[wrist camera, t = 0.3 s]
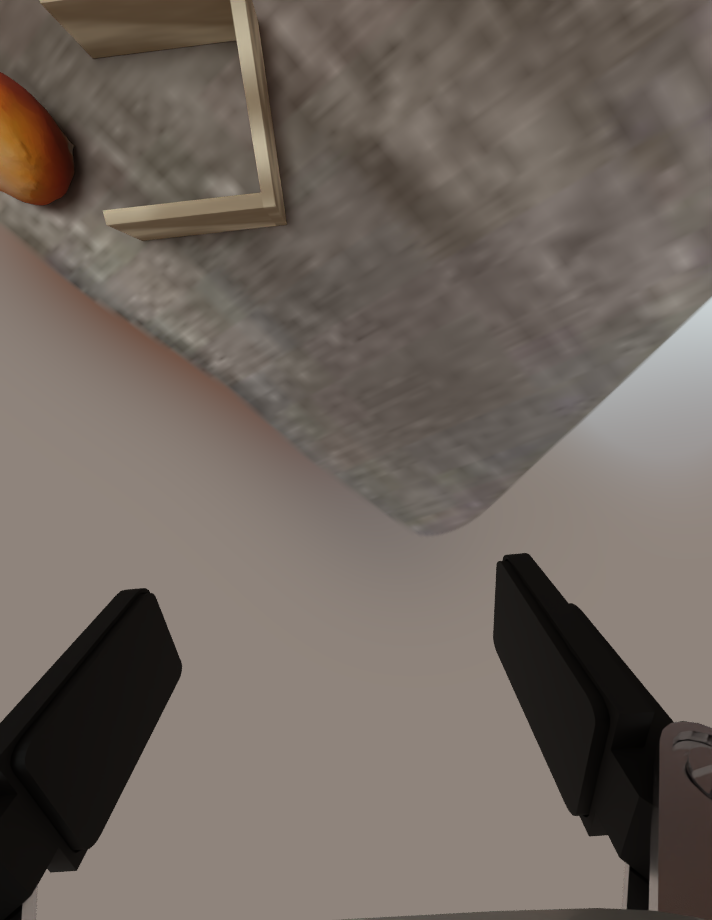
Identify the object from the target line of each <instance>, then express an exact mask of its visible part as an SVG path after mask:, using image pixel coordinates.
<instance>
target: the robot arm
mask: <svg viewBox="0 0 712 920" xmlns="http://www.w3.org/2000/svg"><path fill="white" fill-rule="evenodd" d="M495 589H496V590H495V609H494V631H493V640H494V645H495V648H496V651H497V654H498V656H499V658H500V660H501V663H502V665H503V667H504V669H505V671H506V674H507V676H508V678H509V680H510V683H511V685H512V687H513V689H514V691H515V694H516V696H517V698H518V700H519V703H520V705H521V707H522V709H523V711H524V713H525V716H526V718H527V720H528V722H529V725H530V727H531V729H532V731H533V733H534V736H535V738H536V740H537V742H538V744H539V747H540V749H541V751H542V754H543V756H544V758H545V760H546V762H547V765H548V767H549V769H550V771H551V773H552V776H553V778H554V780H555V782H556V785H557V787H558V789H559V791H560V793H561V796H562V798H563V800H564V802H565V804H566V806H567V808H568V810H569V811H570V812H571V814H572V815H574V816H580V818H581V820H582V822H583V824H584V826H585V828H586V831H587V833H588V835H589V836H602V835H608V836H609V838H610V840H611V842H612V844H613V846H614V848H615V849H616V852H617V853H618V856H619V857H620V858H621V859H622V860H623V861H624V862H625V870H624V884H623V899H622V909H603V908H589V909H554V910H520V911H490V912H472V913H456V914H455V913H453V914H436V915H417V916H400V917H399V916H398V917H380V918H362V919H345V920H712V728H710V727H708V726H705V725H702V724H699V723H694V722H687V721H680V722H673V721H672V719H671V718H670V717H669V716H668V715H667V714H666V712H665V711H664V710H663V709H662V707H661V706H660V705H659V704H658V702H657V701H656V700H655V699H654V698H653V696H652V695H651V694H650V693H649V692H648V690H647V689H646V688H645V687H644V686H643V684H642V683H641V682H640V681H639V679H638V678H637V677H636V676H635V675H634V673H633V672H632V671H631V670H630V669H629V667H628V666H627V665H626V664H625V663H624V661H623V660H622V659H621V658H620V656H619V655H618V654H617V653H616V652H615V650H614V649H613V648H612V647H611V646H610V644H609V643H608V642H607V641H606V640H605V638H604V637H603V636H602V635H601V634H600V632H599V631H598V630H597V629H596V627H595V626H594V625H593V624H592V623H591V621H590V620H589V619H588V618H587V616H586V615H585V614H584V613H583V612H582V611H581V610H580V609H579V608H578V607H577V606H576V605H574V604H572V603H570V604H569V603H568V602H567V601H566V600H565V598H563V596H562V595H561V593H560V592H559V591H558V590H557V589H556V587H555V586H554V585H553V584H552V582H551V581H550V580H549V579H548V577H547V576H546V575H545V573H544V572H543V571H542V570H541V568H540V567H539V566H538V565H537V563H536V562H535V561H534V560H533V558H532V557H531V556H530V555H529V554H527V553H522V554H511V555H505V556H504V557H503V561H499V562H497V567H496V588H495ZM181 671H182V663H181V660H180V658H179V655H178V653H177V650H176V648H175V645H174V642H173V640H172V637H171V635H170V632H169V630H168V627H167V625H166V622H165V620H164V617H163V614H162V612H161V609H160V607H159V604H158V602H157V599H156V597H155V595H154V594H152V593H150V592H149V590H147V589H146V588H140V589H130V590H124V591H120V592H119V593H118V594H117V595H116V596H115V597H114V598H113V599H112V601H111V602H110V603H109V604H108V605H107V606H106V607H105V608H104V609H103V610H102V612H101V613H100V614H99V615H98V616H97V617H96V618H95V619H94V620H93V621H92V623H91V624H90V625H89V626H88V627H87V628H86V629H85V630H84V631H83V633H82V634H81V635H80V636H79V637H78V638H77V639H76V640H75V641H74V642H73V644H72V645H71V646H70V647H69V648H68V649H67V650H66V651H65V652H64V653H63V655H62V656H61V657H60V658H59V659H58V660H57V661H56V662H55V664H53V666H52V667H51V668H50V669H49V670H48V671H47V672H46V673H45V675H43V677H42V678H41V679H40V680H39V681H38V682H37V683H36V684H35V685H34V686H33V688H32V689H31V690H30V691H29V692H28V693H27V694H26V695H25V696H24V698H23V699H22V700H21V701H20V702H19V703H18V704H17V705H16V706H15V707H14V709H13V710H12V711H11V712H10V713H9V714H8V715H7V716H6V717H5V718H4V720H3V721H2V722H1V723H0V920H36V909H37V885H38V883H39V881H40V880H41V878H42V876H43V874H44V872H45V871H46V869H48V870H49V871H50V872H64V871H77V869H78V867H79V865H80V863H81V861H82V859H83V857H84V856H85V854H86V852H87V850H88V849H90V848H91V847H92V846H93V845H94V844H95V843H96V841H97V840H98V838H99V837H100V835H101V833H102V831H103V829H104V827H105V825H106V823H107V821H108V819H109V817H110V815H111V813H112V811H113V809H114V807H115V805H116V803H117V801H118V799H119V797H120V795H121V793H122V791H123V789H124V787H125V785H126V783H127V782H128V780H129V778H130V776H131V774H132V772H133V770H134V768H135V765H136V764H137V762H138V760H139V757H140V756H141V754H142V752H143V750H144V748H145V746H146V744H147V742H148V740H149V738H150V736H151V734H152V732H153V730H154V728H155V726H156V724H157V722H158V720H159V718H160V716H161V714H162V712H163V710H164V708H165V706H166V704H167V702H168V700H169V698H170V696H171V694H172V692H173V690H174V688H175V686H176V684H177V682H178V680H179V678H180V676H181ZM343 920H344V919H343Z"/></svg>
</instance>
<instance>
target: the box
mask: <svg viewBox="0 0 712 920" xmlns="http://www.w3.org/2000/svg"><path fill="white" fill-rule="evenodd" d="M40 3H41V4H42V5H43V6H44V7H45V8H46V10H47V11H48V12H49V13H50V14H51V15H52V16H53V17H54V18H55V19H56V20H57V21H58V22H59V23H60V24H61V25H62V26H63V27H64V29H65V30H66V31H67V32H68V33H69V34H70V35H71V36H72V37H73V38H74V39H75V40H76V41H77V42H78V43H79V44H80V45H81V47H82V48H83V49H84V50H85V51H86V52H87V53H88V54H89V55H90V56H91V57H92V58H101V57H109V56H117V55H125V54H133V53H141V52H149V51H157V50H165V49H173V48H181V47H189V46H197V45H204V44H212V43H220V42H228V41H236V40H237V46H238V52H239V58H240V65H241V71H242V77H243V83H244V90H245V96H246V102H247V108H248V115H249V121H250V127H251V133H252V140H253V146H254V152H255V158H256V165H257V171H258V177H259V183H260V190H261V193H253V194H244V195H235V196H227V197H218V198H209V199H200V200H192V201H183V202H174V203H165V204H156V205H148V206H139V207H130V208H121V209H113V210H104V211H103V214H104V217H105V220H106V224H107V225H108V226H110V227H112V228H115V229H117V230H119V231H121V232H124V233H126V234H128V235H130V236H133V237H135V238H137V239H139V240H142V241H145V240H154V239H163V238H172V237H181V236H190V235H199V234H208V233H217V232H226V231H235V230H244V229H253V228H262V227H271V226H280V225H287V222H286V215H285V208H284V201H283V194H282V187H281V180H280V173H279V166H278V159H277V152H276V144H275V137H274V130H273V123H272V116H271V109H270V102H269V95H268V88H267V81H266V74H265V67H264V60H263V53H262V46H261V39H260V31H259V24H258V19H257V16H256V12H255V9H254V6H253V3H252V0H40Z"/></svg>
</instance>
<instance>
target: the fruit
mask: <svg viewBox="0 0 712 920" xmlns="http://www.w3.org/2000/svg"><path fill="white" fill-rule="evenodd" d="M74 146H75V145H73V144H72V143H71V142H70V141H69V140H68V139H67V137H66V136H65V135H64V133H63V132H62V131H61V130H60V128H59V127H58V125H57V124H56V123H55V121H54V120H53V118H52V117H51V116H50V114H49V113H48V112H47V111H46V109H45V108H44V107H43V106H42V105H41V104H40V103H39V102H38V101H37V100H36V99H35V98H34V97H33V96H32V95H31V94H30V93H29V92H28V91H27V90H26V89H24V88H23V87H22V86H20V85H19V84H18V83H16V82H15V81H14V80H12V79H11V78H9V77H8V76H6V75H4V74H3V73H1V72H0V191H2V192H5V193H7V194H9V195H11V196H13V197H15V198H16V199H19V200H21V201H23V202H25V203H29V204H34V205H47V204H49V203H51V202H53V201H54V200H57V199H59V198H61V197H62V196H63V195H64V194H65V193H66V192H67V190H68V188H69V185H70V182H71V180H72V178H73V175H74V161H73V147H74Z"/></svg>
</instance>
